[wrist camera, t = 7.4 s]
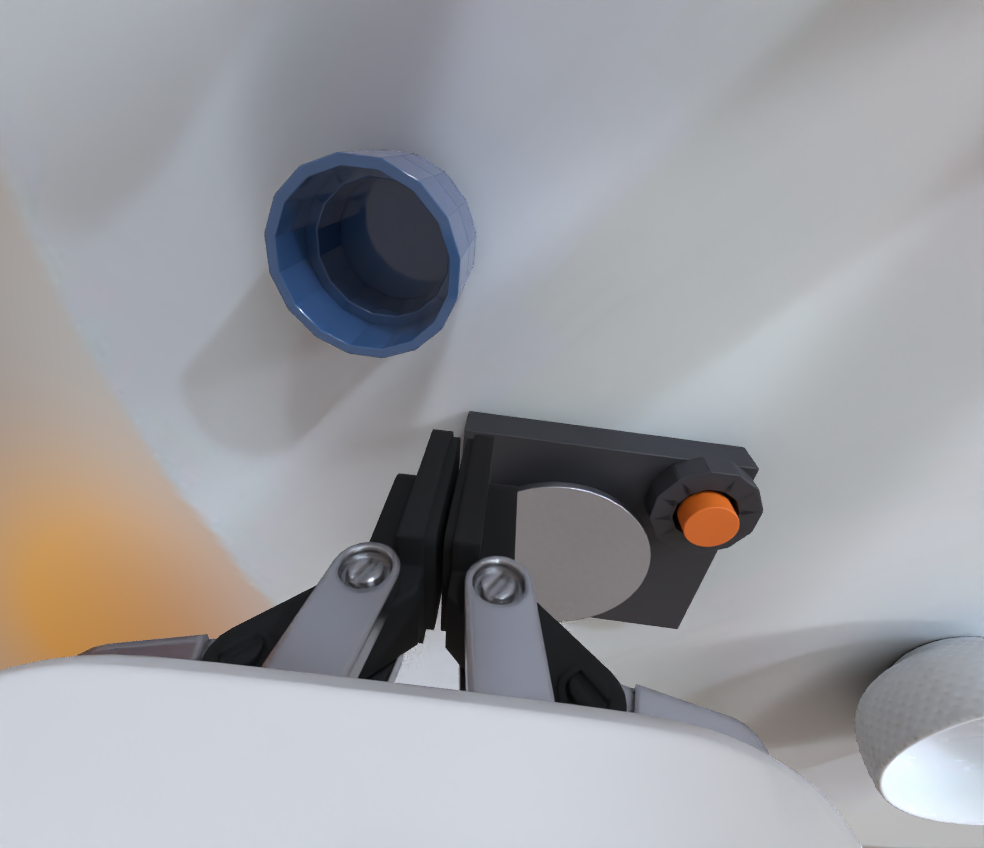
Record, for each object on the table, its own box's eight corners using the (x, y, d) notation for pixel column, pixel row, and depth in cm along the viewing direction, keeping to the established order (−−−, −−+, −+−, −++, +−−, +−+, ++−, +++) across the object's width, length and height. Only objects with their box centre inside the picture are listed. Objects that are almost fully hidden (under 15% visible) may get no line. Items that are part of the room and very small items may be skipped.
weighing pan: (674, 496, 25) (677, 502, 24) (621, 625, 30) (623, 632, 30) (468, 468, 25) (467, 474, 24) (454, 602, 31) (453, 608, 30)
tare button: (738, 494, 25) (748, 511, 24) (719, 532, 26) (728, 550, 25) (686, 487, 25) (693, 504, 24) (670, 525, 26) (676, 543, 25)
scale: (753, 442, 27) (780, 480, 24) (674, 604, 34) (688, 649, 31) (469, 405, 27) (461, 438, 24) (453, 574, 34) (445, 615, 31)
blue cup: (484, 161, 20) (467, 168, 15) (470, 319, 24) (453, 367, 19) (321, 140, 21) (250, 140, 15) (332, 302, 24) (279, 344, 19)
